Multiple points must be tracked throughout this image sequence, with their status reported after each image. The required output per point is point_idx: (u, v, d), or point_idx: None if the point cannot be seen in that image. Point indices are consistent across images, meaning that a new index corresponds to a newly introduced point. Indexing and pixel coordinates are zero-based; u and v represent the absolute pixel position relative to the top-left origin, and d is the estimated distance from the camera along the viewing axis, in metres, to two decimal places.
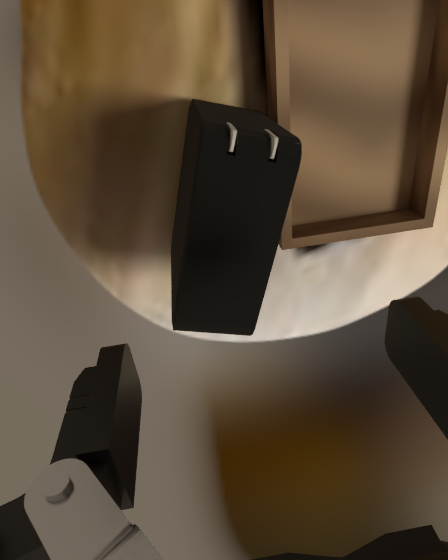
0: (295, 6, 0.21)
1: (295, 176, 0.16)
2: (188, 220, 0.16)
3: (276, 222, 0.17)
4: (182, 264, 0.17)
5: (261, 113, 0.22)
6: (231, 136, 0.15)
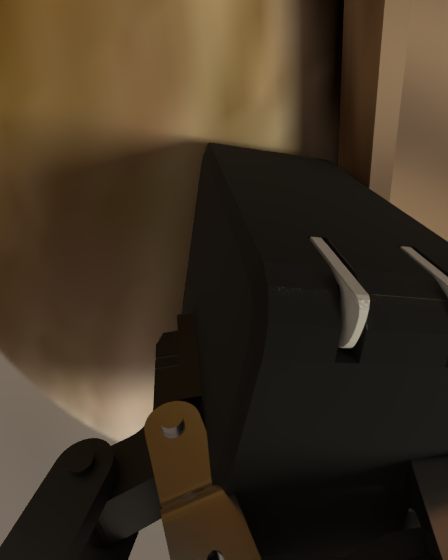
0: None
1: None
2: (218, 482, 0.07)
3: None
4: None
5: (334, 166, 0.12)
6: (350, 310, 0.05)
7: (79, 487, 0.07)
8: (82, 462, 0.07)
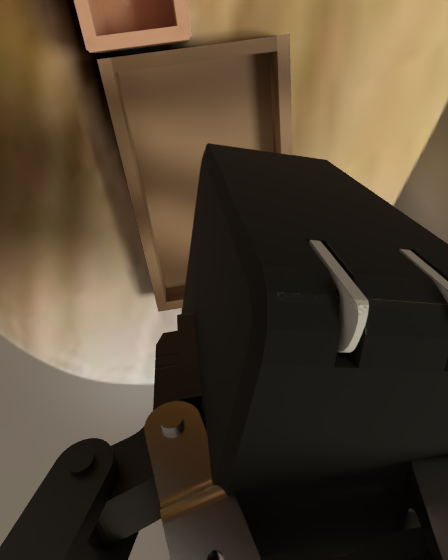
0: (142, 113, 0.24)
1: None
2: None
3: None
4: None
5: (333, 166, 0.12)
6: (349, 315, 0.05)
7: (79, 487, 0.07)
8: (82, 461, 0.08)
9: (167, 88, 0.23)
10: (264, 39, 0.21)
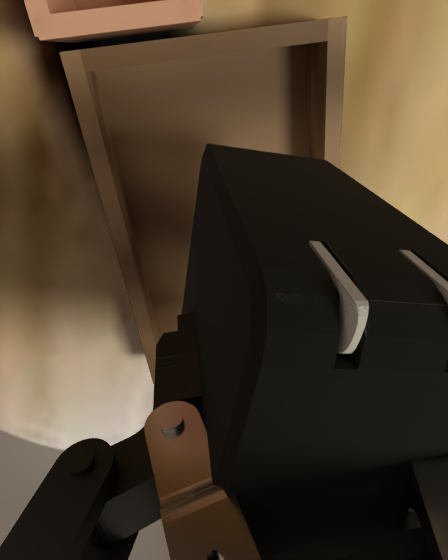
0: (129, 128, 0.17)
1: None
2: None
3: None
4: None
5: (333, 166, 0.12)
6: (349, 316, 0.05)
7: (79, 487, 0.07)
8: (82, 462, 0.07)
9: (165, 94, 0.17)
10: (310, 23, 0.14)
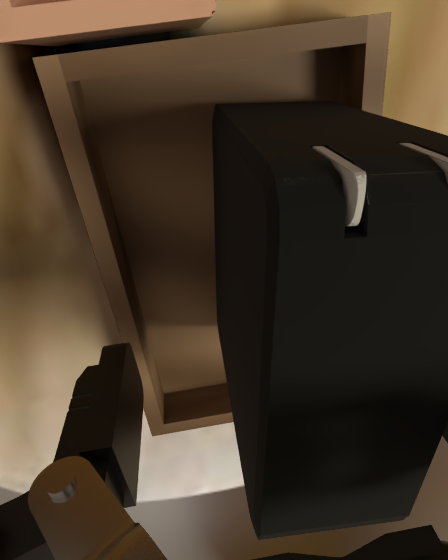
0: (123, 147, 0.14)
1: None
2: (263, 377, 0.07)
3: None
4: (260, 450, 0.08)
5: (338, 103, 0.13)
6: (350, 189, 0.06)
7: None
8: None
9: (165, 107, 0.14)
10: (345, 21, 0.11)
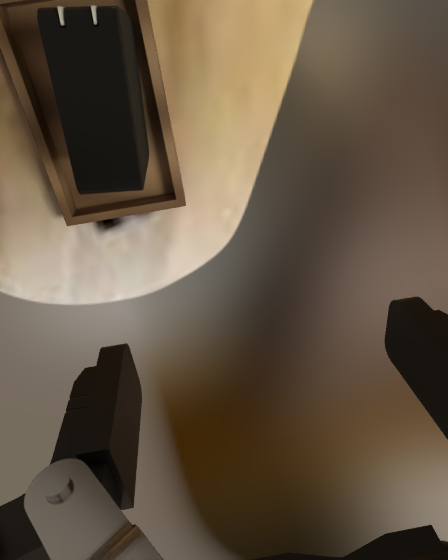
0: (32, 45, 0.28)
1: (118, 34, 0.20)
2: None
3: (119, 78, 0.21)
4: (63, 131, 0.23)
5: (127, 15, 0.27)
6: None
7: None
8: None
9: None
10: None
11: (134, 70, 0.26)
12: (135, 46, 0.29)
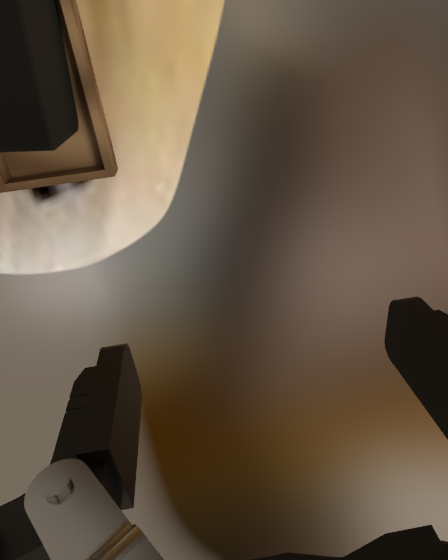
0: None
1: None
2: None
3: (19, 39, 0.23)
4: None
5: None
6: None
7: None
8: None
9: None
10: None
11: (50, 39, 0.28)
12: (58, 20, 0.30)
